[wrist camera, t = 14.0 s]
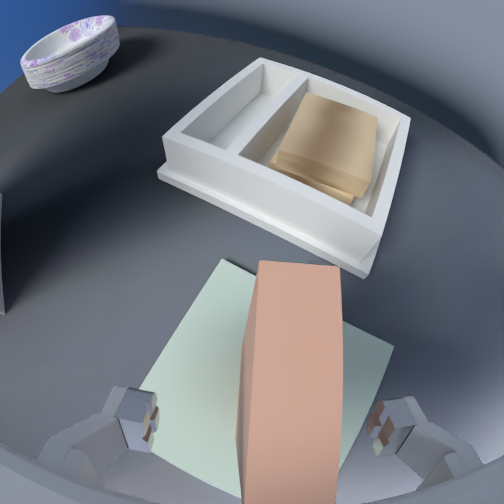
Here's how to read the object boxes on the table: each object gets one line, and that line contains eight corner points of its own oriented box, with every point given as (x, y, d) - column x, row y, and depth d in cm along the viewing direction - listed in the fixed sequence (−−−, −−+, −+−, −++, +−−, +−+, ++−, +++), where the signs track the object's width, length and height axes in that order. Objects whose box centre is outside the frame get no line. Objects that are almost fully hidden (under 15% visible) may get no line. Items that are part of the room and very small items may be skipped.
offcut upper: (371, 132, 26) (377, 117, 24) (361, 198, 22) (370, 182, 20) (302, 108, 27) (306, 91, 25) (275, 168, 23) (278, 149, 21)
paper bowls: (20, 115, 30) (1, 74, 23) (56, 65, 37) (46, 30, 30) (108, 93, 32) (95, 42, 25) (133, 47, 39) (127, 7, 32)
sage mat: (391, 347, 20) (394, 346, 19) (305, 519, 14) (306, 521, 13) (222, 261, 22) (222, 258, 22) (118, 426, 16) (115, 426, 16)
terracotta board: (272, 349, 19) (339, 266, 7) (267, 439, 16) (334, 509, 5) (241, 348, 19) (259, 259, 7) (235, 438, 16) (243, 513, 5)
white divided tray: (401, 153, 29) (419, 120, 25) (363, 279, 22) (392, 249, 18) (250, 88, 33) (253, 53, 28) (158, 178, 25) (148, 136, 21)
